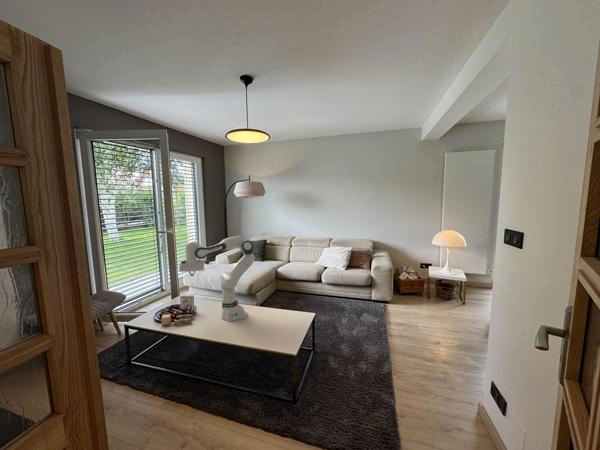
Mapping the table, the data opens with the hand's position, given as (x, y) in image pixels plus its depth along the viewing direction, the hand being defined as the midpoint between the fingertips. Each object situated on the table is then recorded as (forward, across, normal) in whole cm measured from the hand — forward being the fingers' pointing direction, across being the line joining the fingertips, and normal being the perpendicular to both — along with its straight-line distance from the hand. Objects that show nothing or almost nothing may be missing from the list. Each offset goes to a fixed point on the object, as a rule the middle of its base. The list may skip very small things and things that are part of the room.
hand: (192, 275), depth 220 cm
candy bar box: (+37, +7, -10) cm, 39 cm away
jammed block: (+37, +20, +9) cm, 43 cm away
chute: (+37, +10, +9) cm, 40 cm away
